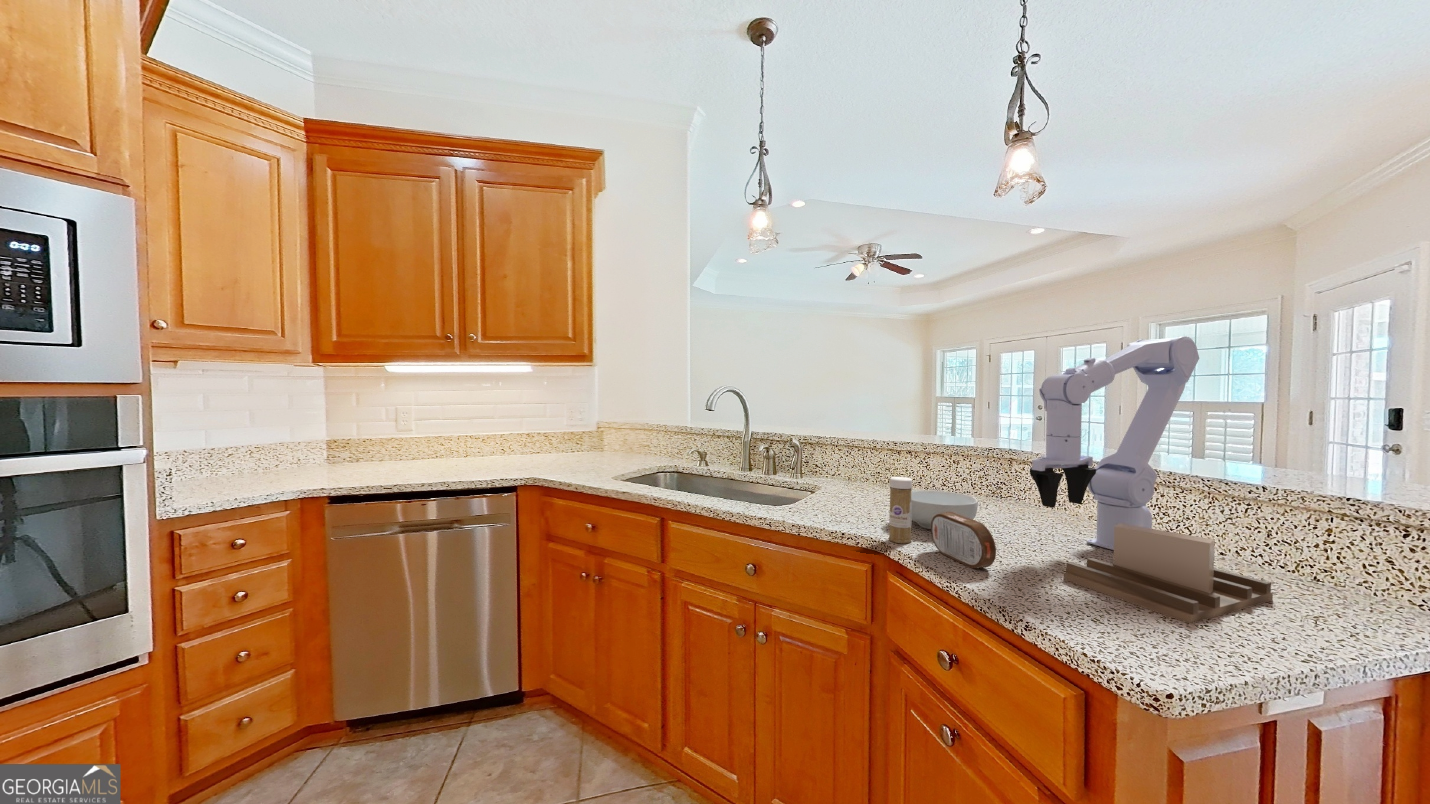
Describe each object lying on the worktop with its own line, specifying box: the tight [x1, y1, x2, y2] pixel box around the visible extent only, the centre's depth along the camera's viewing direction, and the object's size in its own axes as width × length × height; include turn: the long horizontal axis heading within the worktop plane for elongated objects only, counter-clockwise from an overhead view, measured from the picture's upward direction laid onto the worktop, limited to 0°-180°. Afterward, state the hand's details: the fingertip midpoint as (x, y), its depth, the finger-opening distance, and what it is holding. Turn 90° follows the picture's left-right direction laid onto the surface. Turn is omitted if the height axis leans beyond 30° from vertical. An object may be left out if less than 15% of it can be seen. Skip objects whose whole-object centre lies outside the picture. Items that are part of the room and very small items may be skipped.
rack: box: [1063, 557, 1274, 625], centre depth 86 cm, size 21×18×3 cm
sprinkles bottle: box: [888, 476, 913, 545], centre depth 112 cm, size 5×5×14 cm
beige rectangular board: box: [1113, 523, 1216, 593], centre depth 86 cm, size 3×12×8 cm, turn 37°
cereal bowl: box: [911, 489, 979, 530], centre depth 124 cm, size 17×17×7 cm
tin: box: [930, 512, 997, 569], centre depth 100 cm, size 15×3×8 cm, turn 14°
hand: (1062, 504), depth 104 cm, fingers open, 7 cm apart
